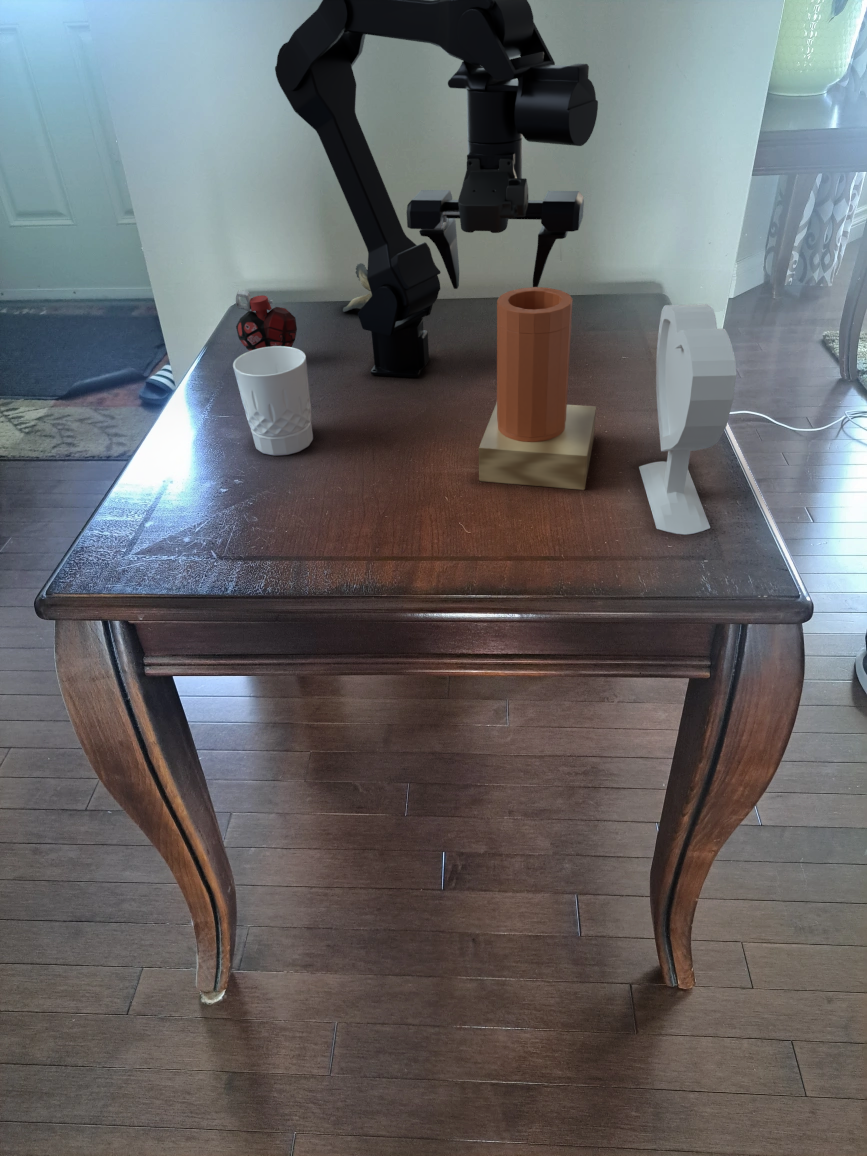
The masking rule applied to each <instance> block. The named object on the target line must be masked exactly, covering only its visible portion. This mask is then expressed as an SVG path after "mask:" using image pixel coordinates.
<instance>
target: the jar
mask: <svg viewBox="0 0 867 1156" xmlns="http://www.w3.org/2000/svg"><path fill="white" fill-rule="evenodd" d="M573 301H574V300H573V297H571V294H570V293H568V292H565V291H563V290H560V289H556V288H552V287H541V286H538V287H533V286H532V287H521V288H516V289H512V290H508V291H506V292H504V293H502V294H501V295H500V296H499V297H498V299H497V300H496V403H497V422H498V429H499V431H500V432H501V433H502V434H503V435H504V436H506V437H508V438H510V439H513V440H517V441H523V442H540V441H546V440H550V439H553V438H555V437H557V436H559V435H560V434H561V433H562V432H563V431H564V429H565V422H566V410H567V405H568V391H569V390H568V389H569V374H570V373H569V372H570V355H571V353H570V352H571V340H572V339H571V338H572V337H571V336H572V318H573Z"/></svg>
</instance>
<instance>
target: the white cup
mask: <svg viewBox="0 0 867 1156" xmlns="http://www.w3.org/2000/svg"><path fill="white" fill-rule="evenodd" d="M307 363H308V362H307V356H306V354H305V352H304V351H302V350H301V349H299V348H296V347H293V346H292V347H286V346H271V347H264V348H259V349H255V350H252V351H249V350H248V351H247V352H244V353H243V354H241V355H238V357H236V358H235V359H234V360H233V363H232V367H233V368H232V369H233V371H234V376H235V380H236V383H237V387H238V390H239V391H238V392H239V393H240V394H239V395H240V398H241V403H242V406H243V408H244V413H245V417H246V419H247V423H248V424H247V425H248V426H249V428H250V432H251V434H252V439H253V443H254V446H255V449H256V450H258V451H259V452H260V453H262V454H265V455H269V456H288V455H292V454H296V453H299V452H301V451H303V450H305V449H306V448H308V447H309V446H310V445H311V443H312V442H313V440H314V434H313V426H312V406H311V404H312V403H311V392H310V383H309V373H308V364H307Z"/></svg>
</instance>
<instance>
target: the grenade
mask: <svg viewBox="0 0 867 1156" xmlns="http://www.w3.org/2000/svg"><path fill="white" fill-rule="evenodd" d="M241 298H245V300H246V302H247V303H243V302H242V301H241ZM235 305H236V307H237V309H240V310H243V311H245V312H246V313H244V315H242V316H241V317H240V318H239V320H238V321H237V324H236V326H235V329H236V332H237V337H238V339H239V341H240V343H241V344H242V346H243V347H245V348H246V350H248V352H249V351H252V350H255V349H259V348H264V347H271V346H286V347H292V348H293V345H294V343H295V341H296V336H297V332H298V331H297V330H298V328H297V320H296V317H295V316H294V315H293V314H292V313H291V312H290V311H289V310H288V309H287V308H285V307H281V306H275V307H274V308H273V307H272V305H273V299H269V298H268V296H267V295H263V294H262V295H256V296H253V297H251V294H250V292H249V291H247V290H239V289H238V290H237V293H236V296H235Z"/></svg>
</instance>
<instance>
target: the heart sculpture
mask: <svg viewBox="0 0 867 1156" xmlns="http://www.w3.org/2000/svg"><path fill="white" fill-rule="evenodd" d="M717 324H718V323H717V317H716V312H715V310H714V309H713V307H712V305H709V304H707V303H694V304H692V303H690V304H665V305H664V306H663V308H662V309H661V312H660V319H659V326H658V331H657V333H658V335H657V345H656V356H655V360H656V361H655V364H656V365H655V375H656V376H655V389H656V390H655V391H656V392H655V394H656V407H657V408H656V409H657V410H656V411H657V420H658V421H657V422H658V431H659V445H660V452H667V458H666V461H660V460H659V461H654V462H650V463H646V464H643V465H640V466H638V469H639V473H640V476H641V479H642V483H643V486H644V491H645V493H646V496H647V500H648V503H649V507H650V510H651V513H652V518H653V521H654V524H655V528H656V529H657V530H660V531H664V532H667V533H671V534H675V535H676V534H677V535H685V536H686V535H693V534H697V533H701V532H704V531H706V530H709V529H711V526H710V523H709V520H708V517H707V514H706V512H705V510H704V507H703V504H702V502H701V499H700V497H699V494H698V491H697V489H696V486H695V483H694V481H693V478H692V476H691V473H690V471H689V463H690V457H691V452H694V451H696V452H697V451H700V450H705V449H711V448H712V447H714V446H715V445H717V444H718V443H719V441H720V439H721V438H722V436H723V433H724V432H725V429H726V428H727V426H728V423H729V418H730V414H731V410H732V406H733V403H734V395H735V390H736V389H735V388H736V382H737V364H736V357H735V353H734V348H733V345H732V342H731V339H730V338H731V337H730V336H729V333H728V332H727V330H726V328H718V325H717Z"/></svg>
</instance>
